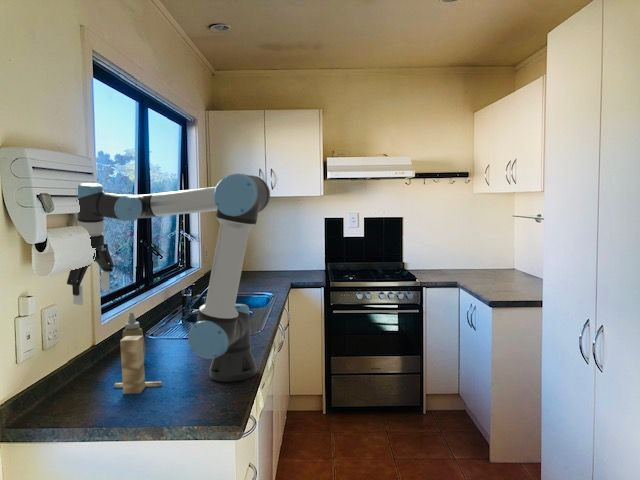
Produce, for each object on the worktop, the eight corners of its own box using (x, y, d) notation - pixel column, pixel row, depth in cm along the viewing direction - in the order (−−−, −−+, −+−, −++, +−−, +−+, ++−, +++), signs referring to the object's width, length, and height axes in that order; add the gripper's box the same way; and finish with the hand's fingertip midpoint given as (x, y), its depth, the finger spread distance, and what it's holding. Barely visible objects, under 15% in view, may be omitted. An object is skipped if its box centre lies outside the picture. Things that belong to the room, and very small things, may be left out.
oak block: (145, 387, 158) (142, 335, 157) (140, 393, 153) (137, 339, 152) (128, 388, 158) (126, 336, 156) (123, 394, 153) (120, 340, 152)
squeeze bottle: (120, 367, 178) (118, 316, 177) (123, 360, 186) (120, 311, 184) (145, 365, 180) (143, 314, 179) (146, 358, 188) (144, 309, 187)
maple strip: (161, 385, 160) (161, 381, 160) (160, 386, 159) (160, 382, 159) (115, 386, 159) (115, 383, 159) (114, 388, 158) (114, 384, 158)
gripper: (104, 223, 174) (105, 282, 179) (51, 240, 150) (54, 308, 156) (124, 226, 172) (124, 286, 178) (74, 244, 149) (76, 312, 154)
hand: (92, 296), depth 167 cm, fingers open, 13 cm apart
